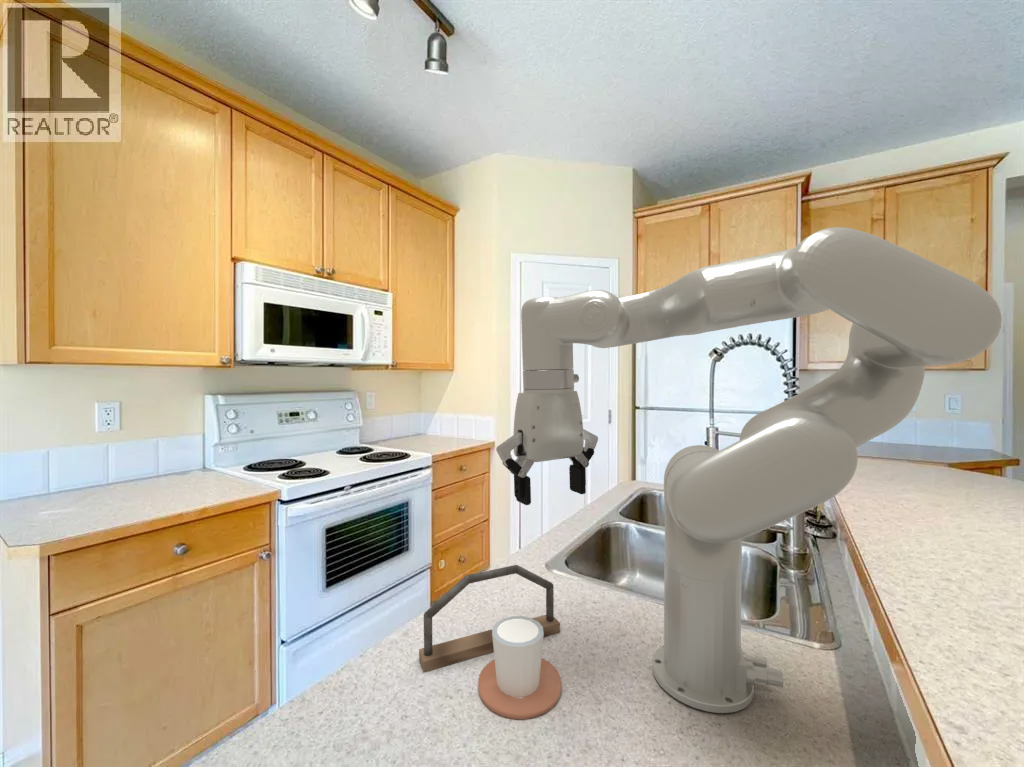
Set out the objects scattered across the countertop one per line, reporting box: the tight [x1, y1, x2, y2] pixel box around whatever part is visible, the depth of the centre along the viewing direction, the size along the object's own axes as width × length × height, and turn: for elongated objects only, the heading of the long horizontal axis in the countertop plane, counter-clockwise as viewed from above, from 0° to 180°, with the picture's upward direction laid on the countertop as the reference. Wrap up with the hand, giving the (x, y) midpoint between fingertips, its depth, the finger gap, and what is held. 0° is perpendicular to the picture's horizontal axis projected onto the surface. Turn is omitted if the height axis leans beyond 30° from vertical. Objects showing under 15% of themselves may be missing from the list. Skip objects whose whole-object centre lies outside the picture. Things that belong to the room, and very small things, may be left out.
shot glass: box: [492, 615, 544, 697], centre depth 57 cm, size 7×7×7 cm
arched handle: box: [418, 564, 561, 673], centre depth 66 cm, size 22×3×12 cm, turn 115°
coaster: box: [477, 657, 562, 720], centre depth 58 cm, size 11×11×1 cm
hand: (551, 497), depth 64 cm, fingers open, 9 cm apart
